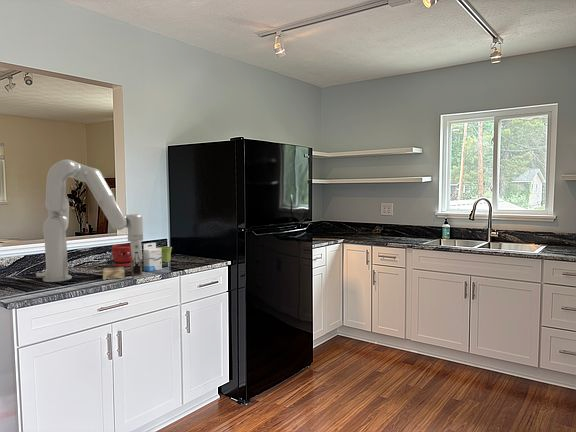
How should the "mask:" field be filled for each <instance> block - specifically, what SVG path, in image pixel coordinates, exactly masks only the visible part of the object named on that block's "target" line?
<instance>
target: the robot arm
mask: <svg viewBox="0 0 576 432" xmlns="http://www.w3.org/2000/svg"><path fill="white" fill-rule="evenodd" d="M68 178H71V179H74V180H77V181H79V182H83V183H85V184H86V185H87V187H88V188H89V190H90V191H91V193H92V196H93V197H94V199H95V200H96V202H97V204H98V206H99V207H100V209H101V210H102V213H103V214H104V216H105V218H106V219H107V222H109V225H110V226H111V227H112V228H113V229H114V230H116V231H121V230H124V229H125V228H127V229H126V230H127V231H126V232H127V242H130V243H129V245H131V256H132V260H134V266H133V269H134V274H139V273H140V264H139V260H141V261H142V260H143V251H142V250H143V249H142V247H143V245H142V241H144V231H143V230H144V229H143V215H142V214H138V213H134V214H133V213H132V214H123V213H122V210H121V209H120V208H119V205H118V203H117V201H116V198H115V195H114V192H113V191H112V190H111V188H110V186H109V185H108V183H107V181H106V180H105V178H104V175H103V173H102V172H101V170H100V169H98V168H95V167H92V166H88V165H85V164H82V163H79V162H77V161H74V160H72V159H61V160H60V161H59V160H58V161H57V162H56V163H54V164H53V165H51V167H50V168H49V170H48V172H47V175H46V187H45V204H44V205H45V206H44V207H45V208H46V210H47V211H48V212H47V218H46V219H45V221H44V222H43V225H42V230H43V231H42V232H43V237H44V238H43V239H44V250H45V251H44V252H45V271H43V272H36V273H35V277H36V278H42V281H43V282H46V283H57V282H58V283H59V282H65V281H69V280H71V279H72V275H70V274H69V266H68V265H69V264H68V246H67V232H66V231H67V229H68V228H69V220H70V219H69V218H70V202H69V199H68V198H67V196H66V195H67V194H66V193H67V192H66V190H67V179H68Z"/></svg>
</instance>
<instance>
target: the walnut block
mask: <svg viewBox="0 0 576 432" xmlns="http://www.w3.org/2000/svg"><path fill="white" fill-rule="evenodd" d="M139 264H140V273H139V274H134V269H133V266H134V260H132V261H131V266H130V267H131V268H130V269H131V270H130V271H131V273H130V274H131V276H142V275H143V269H142V267H143V263H142V260H141V259H139Z"/></svg>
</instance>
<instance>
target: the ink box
mask: <svg viewBox="0 0 576 432" xmlns="http://www.w3.org/2000/svg"><path fill="white" fill-rule="evenodd" d="M142 250H143V251H142V255H143V271H145V272H154V271H159V270H162V269H163V268H162V266H163V264H162V263H163V262H162V256H161V248H158V247H157V242H149V243H143V249H142Z"/></svg>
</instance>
